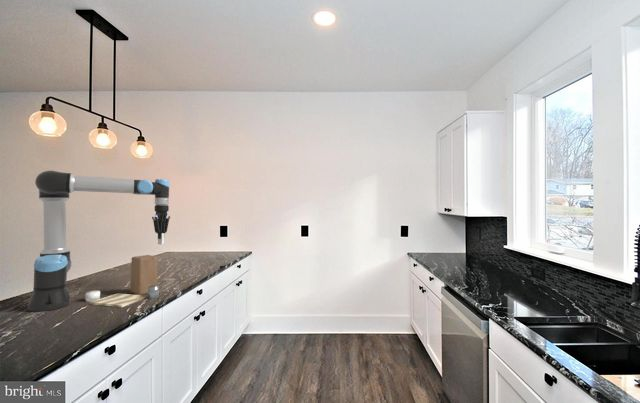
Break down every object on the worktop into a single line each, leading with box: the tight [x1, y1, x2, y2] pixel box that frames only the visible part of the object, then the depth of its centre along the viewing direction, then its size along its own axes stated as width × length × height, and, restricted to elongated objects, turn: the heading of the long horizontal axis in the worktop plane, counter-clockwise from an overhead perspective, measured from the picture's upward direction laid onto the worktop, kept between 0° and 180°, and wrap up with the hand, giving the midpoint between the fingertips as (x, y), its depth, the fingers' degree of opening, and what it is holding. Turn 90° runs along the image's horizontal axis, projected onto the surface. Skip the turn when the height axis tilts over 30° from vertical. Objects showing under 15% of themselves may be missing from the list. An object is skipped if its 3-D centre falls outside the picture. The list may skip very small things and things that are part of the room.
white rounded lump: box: [84, 290, 101, 303], centre depth 154 cm, size 6×6×4 cm
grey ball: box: [147, 284, 160, 300], centre depth 160 cm, size 5×5×6 cm
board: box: [89, 292, 148, 308], centre depth 153 cm, size 18×16×1 cm
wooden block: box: [129, 254, 159, 295], centre depth 169 cm, size 10×10×20 cm
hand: (160, 244), depth 181 cm, fingers closed
